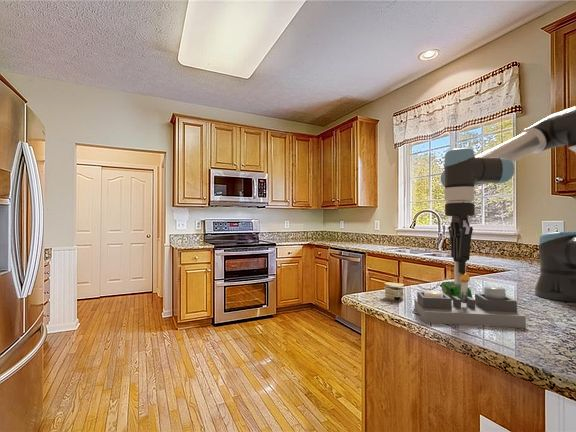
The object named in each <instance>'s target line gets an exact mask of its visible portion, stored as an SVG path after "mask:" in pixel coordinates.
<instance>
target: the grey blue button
mask: <svg viewBox="0 0 576 432" xmlns="http://www.w3.org/2000/svg"><path fill="white" fill-rule="evenodd" d="M506 291H507V290H506V288H505V287H500V286H491V285H487V286H483V294H484V297H485V298H486V299H494V300H506V296H507V295H506V293H507V292H506Z"/></svg>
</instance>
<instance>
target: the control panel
mask: <svg viewBox="0 0 576 432" xmlns="http://www.w3.org/2000/svg"><path fill="white" fill-rule="evenodd" d="M424 292H425V291H417V292H416V295H417V297H416V298H414V299H413V300H414V301H413V302H414V303H413V305H414V307H413V308H414V310H415V311H416V313H417V314H418V315H419V317H420V318H421V319H422V320H423V322H424V324H442V325H443V324H444V325H462V326H463V325H464V326H477V325H489V326H488V327H497V326H502V328H520V329H527V322H526V321H527V320H526V317H527V316H526V315H524V314H522V313H521V312H518V301H517V300H515V299H513V298H511V297H509V296H508V295H506V300H494V299H486V298H485V297H484V293H474V298H473V297H472V298H471V297H467V303H461V299H459V298H458V297H456V296H453V300H452V299H451V298H450V297H449V296H447V295H446V294H445V293H443V292H442V293H443V298H436V297H425V296H424Z"/></svg>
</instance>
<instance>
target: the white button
mask: <svg viewBox="0 0 576 432" xmlns="http://www.w3.org/2000/svg"><path fill="white" fill-rule="evenodd" d="M423 292H424V296H425V297H436V298H443V291H442V292H441V291H436V290H426V291H423Z"/></svg>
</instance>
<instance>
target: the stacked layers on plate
mask: <svg viewBox="0 0 576 432" xmlns="http://www.w3.org/2000/svg"><path fill="white" fill-rule="evenodd" d="M383 284H385V285H387V286H384V287H383V288H384V292H383V294H384V296H385V299H388V300H393V301H394V300H395V299H397V300H398V299H399V300H400V301H402V300H404V296H405V293H404V290H405V287H404V286H405V283H400V282H398V283H397V282H391V281H389V282H385V283H383Z"/></svg>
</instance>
